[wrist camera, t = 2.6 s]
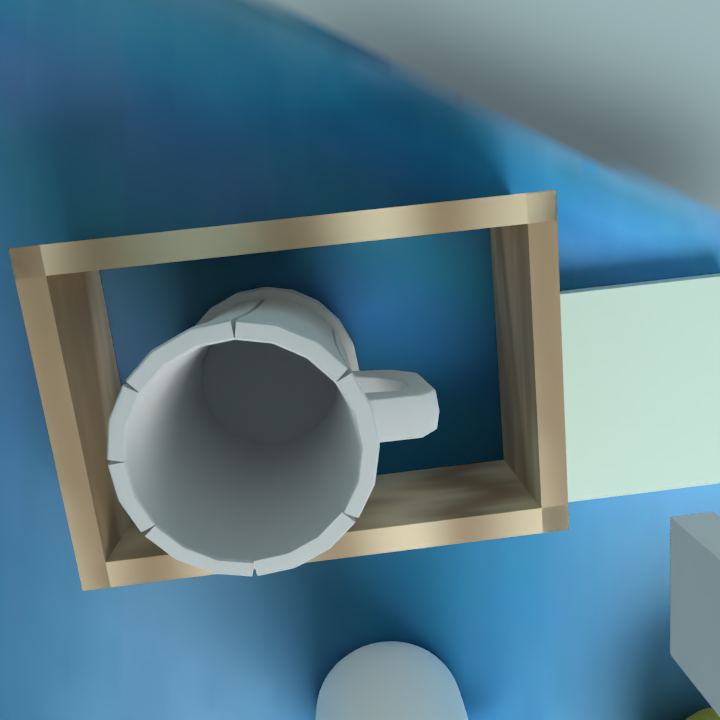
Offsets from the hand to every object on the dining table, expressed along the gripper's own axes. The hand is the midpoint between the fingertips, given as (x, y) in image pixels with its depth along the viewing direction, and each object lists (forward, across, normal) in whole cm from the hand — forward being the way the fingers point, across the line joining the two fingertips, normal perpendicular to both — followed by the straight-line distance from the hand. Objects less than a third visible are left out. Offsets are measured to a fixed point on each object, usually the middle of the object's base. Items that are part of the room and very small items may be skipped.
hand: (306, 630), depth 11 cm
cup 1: (+22, -2, 0) cm, 22 cm away
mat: (+22, +16, -3) cm, 27 cm away
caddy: (+22, 0, 0) cm, 22 cm away
